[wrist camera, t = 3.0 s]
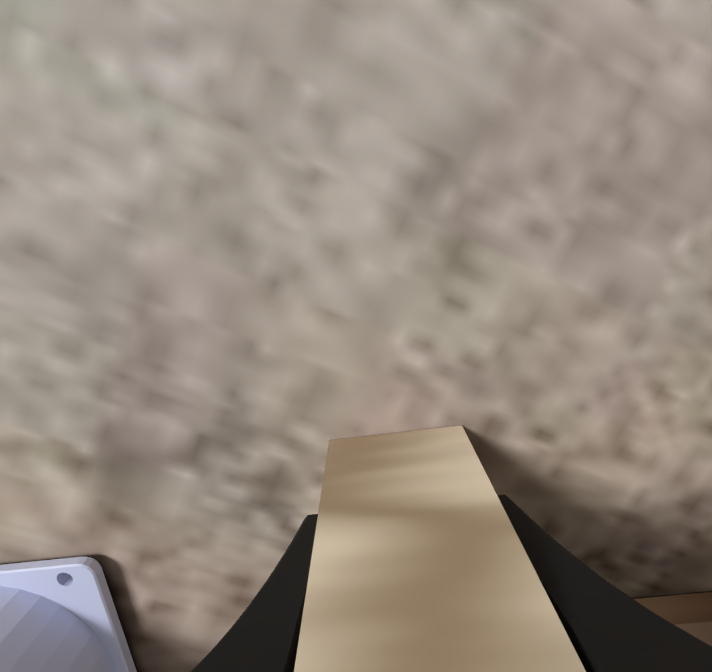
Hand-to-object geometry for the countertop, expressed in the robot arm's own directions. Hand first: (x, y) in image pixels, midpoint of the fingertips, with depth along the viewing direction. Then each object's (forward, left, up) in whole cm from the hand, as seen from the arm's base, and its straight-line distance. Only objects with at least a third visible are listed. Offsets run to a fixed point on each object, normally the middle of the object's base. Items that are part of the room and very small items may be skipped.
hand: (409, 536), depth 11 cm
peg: (0, 0, -2) cm, 2 cm away
